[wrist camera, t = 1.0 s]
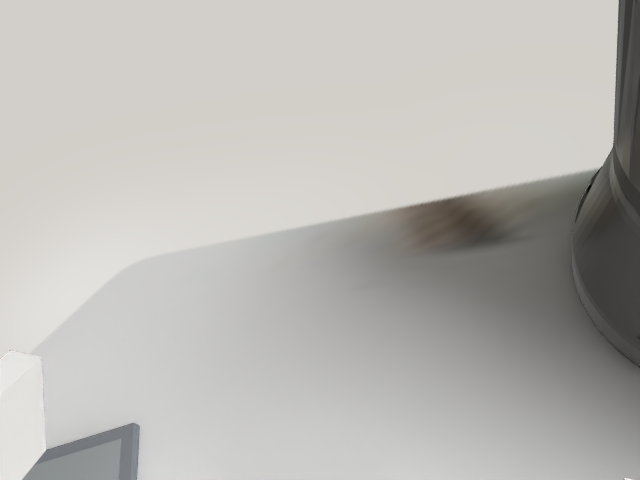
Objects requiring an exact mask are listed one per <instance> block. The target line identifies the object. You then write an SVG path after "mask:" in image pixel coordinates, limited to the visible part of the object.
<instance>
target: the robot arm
mask: <svg viewBox="0 0 640 480" xmlns="http://www.w3.org/2000/svg"><path fill="white" fill-rule="evenodd" d="M615 90H616V91H615V114H614V115H615V116H614V143H613V148H612V150H611V152H610V154H609V155H608V157H607V159H606V161H605V163H604V164H603V166H602V167H601V168H600V169H599V170H598V172H597V173H596V174H595V175H594V177H593V178H592V180H591V181H590V183H589V184H588V186H587V187H586V189H585V191H584V193H583V195H582V196H581V199H580V201H579V203H578V206H577V209H576V212H575V216H574V220H573V225H572V233H571V255H572V270H573V276H574V281H575V285H576V288H577V291H578V294H579V297H580V299H581V301H582V303H583V306H584V307H585V309H586V311H587V313H588V315H589V316H590V318H591V319H592V321H593V322H594V324H595V325H596V326H597V328H598V329H599V330H600V331H601V333H602V334H603V335H604V336H605V337H606V338H607V339H608V341H609V342H610V343H611V344H612V345H614V346H615V347H616V348H617V349H618V350H619V351H620V352H621V353H622V354H623V355H625V356H626V357H627V358H628V359H630V360H631V361H632V362H634V363H635V364H636V365H638V366H639V367H640V0H619V11H618V37H617V64H616V89H615ZM45 451H46V436H45V415H44V393H43V372H42V357H40V356H35V355H31V354H26V353H21V352H16V351H11V350H10V351H9V352H8V353H6V354H5V355H4V356H3V357H2V358H0V480H22V479H23V478H24V477H25V475H26V474H27V473H28V472H29V470H30V469H31V468H32V467H33V466H34V464H35V463H36V462H37V461H38V459H39V458H40V457H41V456H42V454H43V453H44V452H45ZM623 480H633V479H628V478H624V479H623Z"/></svg>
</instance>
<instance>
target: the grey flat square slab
mask: <svg viewBox="0 0 640 480" xmlns="http://www.w3.org/2000/svg"><path fill="white" fill-rule="evenodd" d="M138 445H139V425H137V424H135V423H132V424H129V425H126V426H122V427H119V428H116V429H113V430H110V431H106V432H103V433H100V434H97V435H93V436H90V437H87V438H84V439H81V440H77V441H74V442H71V443H68V444H64V445H61V446H58V447H55V448H52V449H48V450H46V451H45V452H44V453H43V454H42V456H41V457H40V458H39V459H38V461H37V462H36V463H35V464H34V466H33V467H32V468H31V469H30V470H29V472H28V473H27V474H26V475H25V477H24V478H23V479H22V480H137V465H138Z"/></svg>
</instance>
